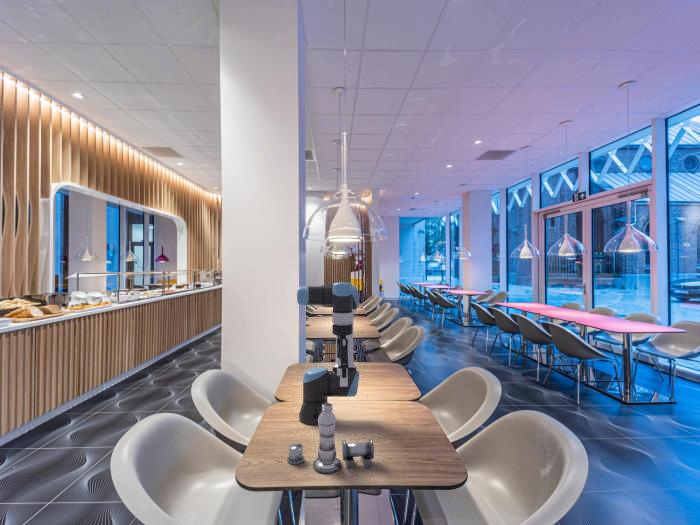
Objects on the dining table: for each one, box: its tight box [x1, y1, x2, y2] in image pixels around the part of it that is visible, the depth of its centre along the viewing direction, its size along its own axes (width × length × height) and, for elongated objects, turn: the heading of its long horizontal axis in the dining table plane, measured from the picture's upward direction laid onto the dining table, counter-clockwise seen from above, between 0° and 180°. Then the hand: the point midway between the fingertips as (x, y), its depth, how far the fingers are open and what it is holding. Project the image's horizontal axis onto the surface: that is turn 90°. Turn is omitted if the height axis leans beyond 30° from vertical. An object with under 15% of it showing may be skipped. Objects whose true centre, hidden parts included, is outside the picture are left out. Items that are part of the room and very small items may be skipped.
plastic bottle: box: [317, 402, 337, 464], centre depth 129 cm, size 6×7×20 cm
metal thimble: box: [286, 443, 305, 466], centre depth 132 cm, size 6×6×5 cm
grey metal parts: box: [312, 438, 375, 475], centre depth 129 cm, size 21×10×8 cm, turn 98°
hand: (342, 380), depth 135 cm, fingers open, 13 cm apart
